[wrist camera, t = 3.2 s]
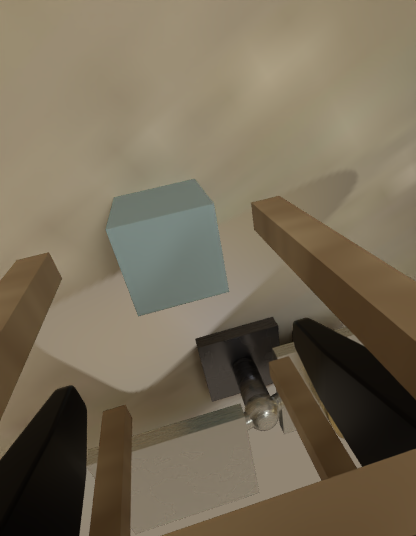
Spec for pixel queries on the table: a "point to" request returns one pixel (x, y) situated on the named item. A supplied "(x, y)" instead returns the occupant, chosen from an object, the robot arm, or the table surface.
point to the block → (167, 246)
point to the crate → (284, 378)
